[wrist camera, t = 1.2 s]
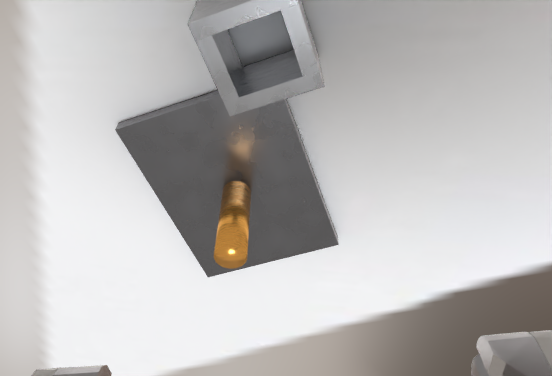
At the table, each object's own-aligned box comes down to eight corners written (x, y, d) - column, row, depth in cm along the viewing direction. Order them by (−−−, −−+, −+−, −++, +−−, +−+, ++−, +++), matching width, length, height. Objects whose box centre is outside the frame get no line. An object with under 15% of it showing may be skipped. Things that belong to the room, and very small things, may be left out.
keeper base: (276, 70, 33) (276, 131, 27) (337, 236, 42) (348, 311, 36) (118, 122, 35) (84, 189, 29) (209, 268, 44) (198, 344, 38)
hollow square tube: (290, -36, 29) (292, -15, 25) (318, 56, 32) (324, 86, 29) (197, -1, 30) (187, 23, 27) (234, 84, 34) (229, 116, 30)
